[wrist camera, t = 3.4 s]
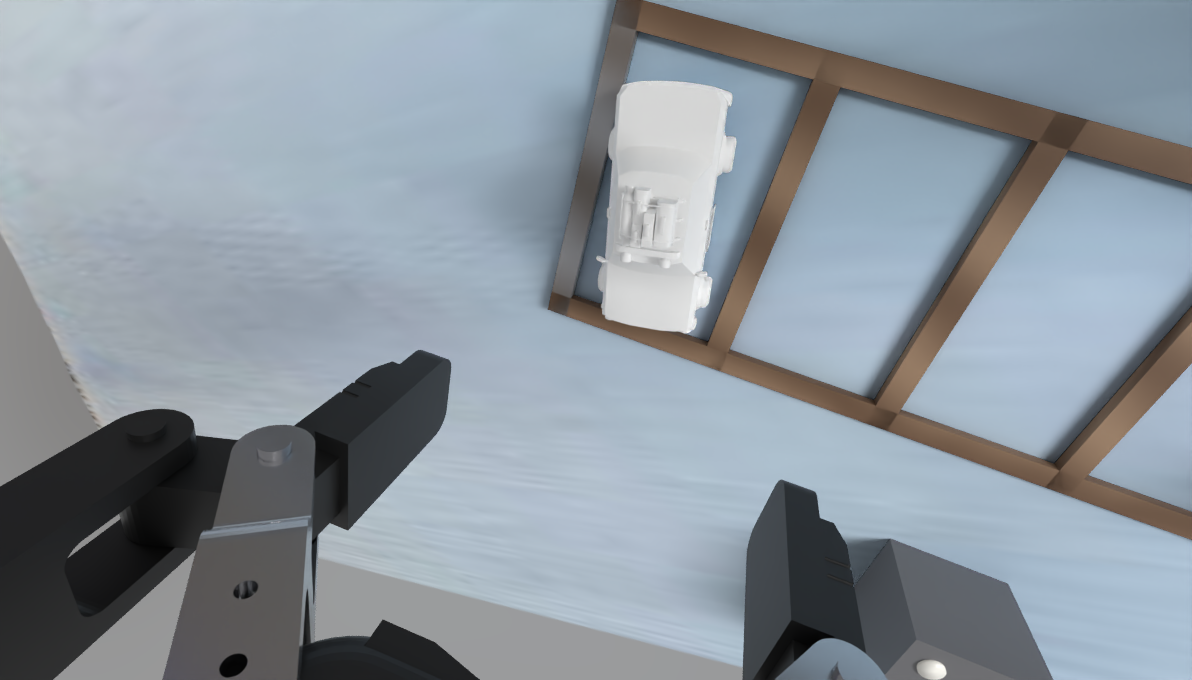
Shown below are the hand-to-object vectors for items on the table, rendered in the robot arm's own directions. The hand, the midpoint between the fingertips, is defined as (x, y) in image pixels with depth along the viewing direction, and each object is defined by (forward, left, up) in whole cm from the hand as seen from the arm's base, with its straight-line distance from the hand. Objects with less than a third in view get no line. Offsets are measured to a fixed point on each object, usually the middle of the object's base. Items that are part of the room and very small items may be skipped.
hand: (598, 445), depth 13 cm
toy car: (-1, -2, -19) cm, 19 cm away
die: (+17, +21, -19) cm, 33 cm away
